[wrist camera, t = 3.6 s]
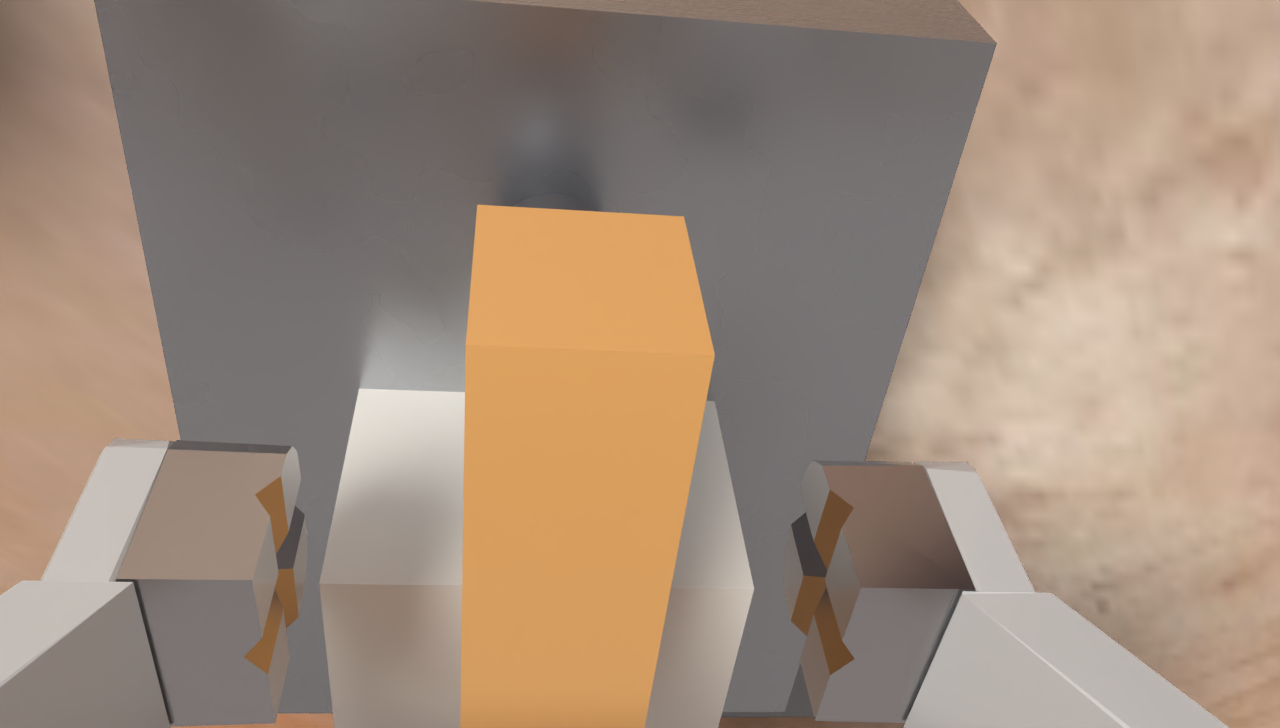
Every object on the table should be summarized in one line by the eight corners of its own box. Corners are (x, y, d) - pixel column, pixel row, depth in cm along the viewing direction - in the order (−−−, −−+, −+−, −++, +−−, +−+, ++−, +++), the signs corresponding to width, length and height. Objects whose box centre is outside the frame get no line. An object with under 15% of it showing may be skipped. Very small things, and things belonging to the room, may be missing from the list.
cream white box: (656, 695, 20) (677, 885, 17) (378, 696, 19) (351, 893, 16) (714, 400, 15) (754, 588, 13) (358, 387, 15) (318, 583, 12)
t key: (583, 521, 17) (604, 936, 12) (479, 519, 17) (457, 941, 12) (639, 14, 12) (715, 354, 7) (493, 3, 12) (465, 344, 7)
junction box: (736, 489, 25) (784, 712, 20) (294, 478, 24) (234, 713, 19) (869, -97, 17) (996, 43, 12) (219, -160, 16) (88, -30, 11)
